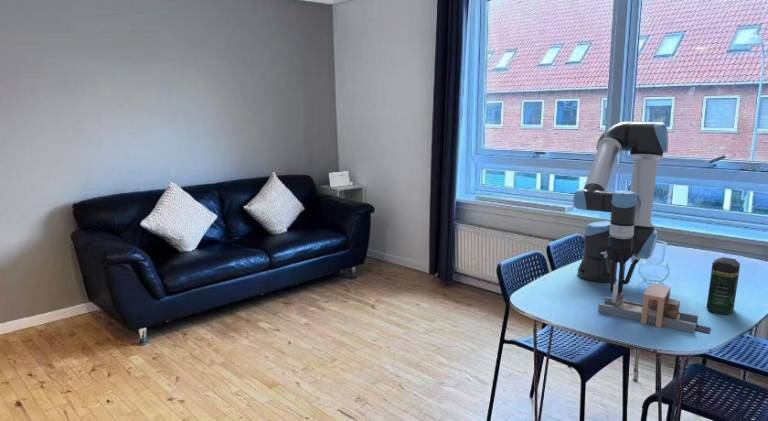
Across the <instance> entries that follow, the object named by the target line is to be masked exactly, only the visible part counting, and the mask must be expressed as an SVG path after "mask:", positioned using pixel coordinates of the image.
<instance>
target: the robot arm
mask: <svg viewBox="0 0 768 421" xmlns="http://www.w3.org/2000/svg"><path fill="white" fill-rule="evenodd" d="M595 147H596V148H595V149H596V153H595V156H594V159H593V162H592V164H591V167H590V169H589V173H588V175H587V178H586V182H585V184H584V187H583V188H579V189H578V188H577V189H576V190H575V191H574V193H573V203H572V204H573V207H574V208H575V209H576V210H581V211H591V212H605V213H610V221H607V220H606V221H604V220H603V221H595V222H594V221H593V222H590V223H588V224H587V225H586V226H585V230H584V235H583V236H584V237H583V252H582V253H583V255H582V259H581V262H580V263H579V265H578V268H577V276H578V277H579V278H580V279H583V280H586V281H590V282H595V283H596V282H597V283H610V286H609V287H610V288H609V292H610V293H612V297H611V298H612V302H614V303H616V296H617V295H618V294H621V293H622V292H623V290H624V285H628V284H629V283H630V281H631V278H632V276H633V275H634V274H633V273H634V270H635V268H636V266H637V264H638V263H639V262H640V260H641V259H642V260H648V259H651V257H652V256H653V253H654V250H655V248H656V244H657V241H658V240H657V239H658V235H659V233H658V231H657V230H655V225H654V224H653V223H652V222H651V221H652V212H653V204H654V195H655V187H656V178H657V171H658V162H659V161H660V160H661V159H662V158H663V157H664V154H666V153H668V150H669V133H668V126H667V125H666V123H664V122H659V121H658V122H657V121H648V122H647V121H637V122H636V121H623V122H619V123H618V122H617V124H614V125H612V126H610V127H609V128H607V129H606V130H605V131H604V132H603V133H602V134H601V136H599V138H598V140H597V141H596V146H595ZM622 152H630V153H629V154H630V155H629V156H630V158H632V161H633V162H632V163H633V165H632V173H631V181H630V189H629V190H623V189H622V190H621V189H620V190H615V191H608V190H607V186H608V185H609V181H610V178H611V175H612V172H613V168H614V165H615V163H616V159H617V157H618V156H619V155H620V154H621V153H622ZM606 190H607V191H606ZM629 260H630V262H631V263H630V265H629V269H628V271H627V273H626V276H625V271H626V264H627V262H628V261H629ZM618 263H619V271H618ZM617 272H618V281H617ZM623 293H624V292H623Z"/></svg>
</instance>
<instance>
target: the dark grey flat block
mask: <svg viewBox="0 0 768 421" xmlns="http://www.w3.org/2000/svg"><path fill="white" fill-rule="evenodd" d="M711 330H712V328H711V327H710V326H703V325H699V324H697V325H696V327H695V330H694V332H699V333H705V334H710V332H711Z"/></svg>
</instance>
